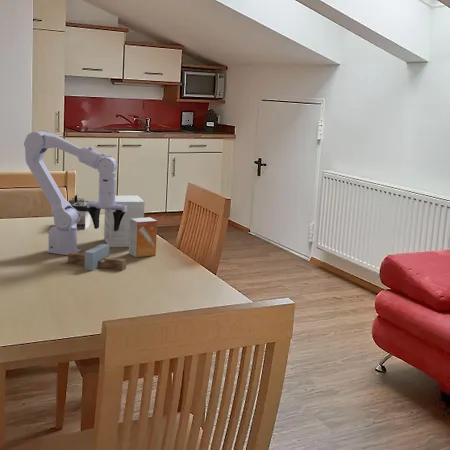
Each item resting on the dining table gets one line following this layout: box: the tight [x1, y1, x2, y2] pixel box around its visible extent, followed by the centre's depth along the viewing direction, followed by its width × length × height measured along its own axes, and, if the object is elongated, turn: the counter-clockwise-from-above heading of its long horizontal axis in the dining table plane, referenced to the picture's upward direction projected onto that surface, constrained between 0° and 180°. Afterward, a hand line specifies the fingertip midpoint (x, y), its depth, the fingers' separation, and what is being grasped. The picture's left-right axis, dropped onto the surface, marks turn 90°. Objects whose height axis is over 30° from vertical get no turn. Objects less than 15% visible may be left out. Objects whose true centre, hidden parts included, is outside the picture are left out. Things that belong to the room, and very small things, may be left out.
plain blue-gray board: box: [84, 243, 110, 271], centre depth 216 cm, size 3×12×6 cm, turn 164°
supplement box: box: [103, 195, 145, 248], centre depth 246 cm, size 13×13×18 cm
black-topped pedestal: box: [68, 193, 95, 230], centre depth 269 cm, size 28×26×13 cm
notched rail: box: [67, 252, 127, 271], centre depth 217 cm, size 20×3×3 cm, turn 74°
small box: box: [128, 216, 158, 258], centre depth 232 cm, size 8×6×13 cm
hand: (106, 229), depth 228 cm, fingers open, 7 cm apart
